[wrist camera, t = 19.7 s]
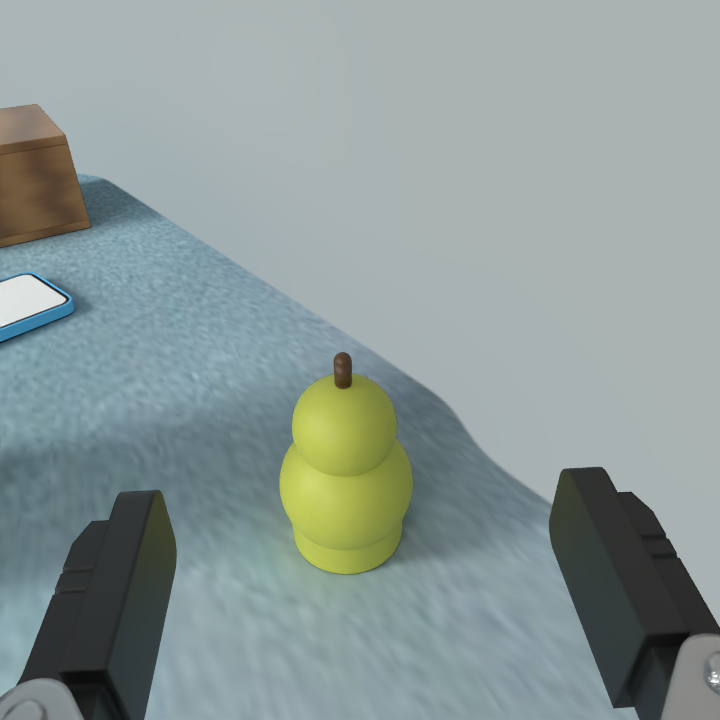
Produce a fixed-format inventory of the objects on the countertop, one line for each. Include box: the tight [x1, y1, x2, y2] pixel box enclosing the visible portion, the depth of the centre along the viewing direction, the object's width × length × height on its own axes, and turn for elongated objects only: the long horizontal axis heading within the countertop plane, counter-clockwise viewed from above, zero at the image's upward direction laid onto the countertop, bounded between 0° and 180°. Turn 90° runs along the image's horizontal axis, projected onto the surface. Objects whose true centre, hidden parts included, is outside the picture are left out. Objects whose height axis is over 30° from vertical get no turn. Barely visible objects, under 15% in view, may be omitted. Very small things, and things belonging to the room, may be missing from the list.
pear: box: [280, 352, 413, 574], centre depth 27 cm, size 6×6×10 cm
